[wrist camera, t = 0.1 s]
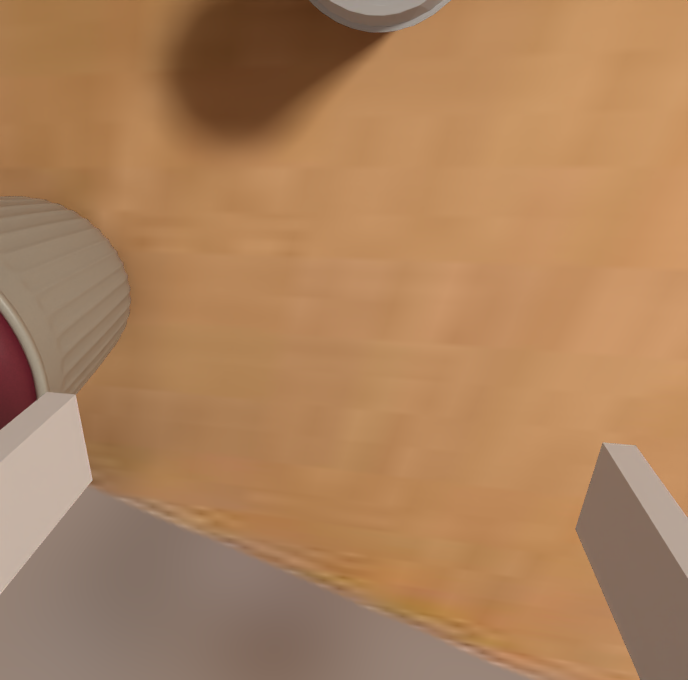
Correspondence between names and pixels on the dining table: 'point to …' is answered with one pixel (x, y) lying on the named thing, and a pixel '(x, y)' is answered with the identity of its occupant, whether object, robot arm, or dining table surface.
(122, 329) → the canister
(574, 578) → the dining table surface
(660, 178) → the dining table surface
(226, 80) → the dining table surface
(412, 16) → the disposable coffee cup
